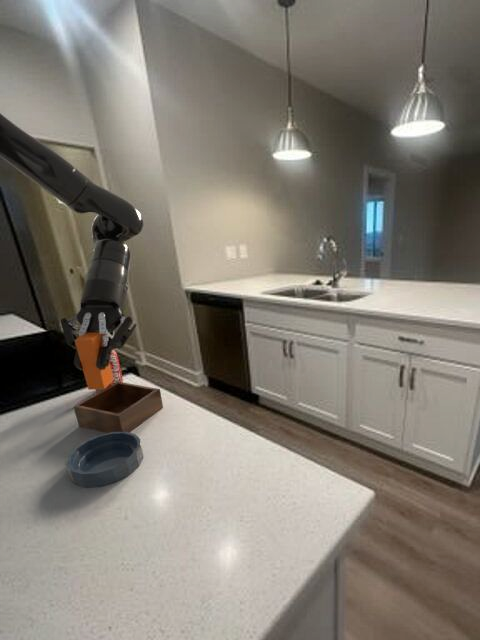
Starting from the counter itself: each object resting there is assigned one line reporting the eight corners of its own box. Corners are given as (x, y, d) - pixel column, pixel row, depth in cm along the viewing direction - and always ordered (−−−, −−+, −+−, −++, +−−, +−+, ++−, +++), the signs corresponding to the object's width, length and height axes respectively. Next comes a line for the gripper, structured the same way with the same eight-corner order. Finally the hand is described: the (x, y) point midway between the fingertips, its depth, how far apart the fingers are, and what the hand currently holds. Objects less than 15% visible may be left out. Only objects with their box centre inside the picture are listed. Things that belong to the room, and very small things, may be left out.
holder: (79, 427, 77) (72, 406, 75) (122, 400, 88) (117, 381, 86) (124, 438, 73) (118, 416, 71) (163, 409, 84) (159, 388, 82)
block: (98, 380, 68) (85, 332, 64) (114, 379, 69) (102, 332, 65) (88, 389, 65) (74, 340, 61) (104, 389, 65) (91, 339, 61)
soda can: (126, 382, 97) (117, 342, 93) (122, 393, 91) (113, 351, 86) (98, 386, 95) (87, 345, 91) (93, 398, 89) (81, 355, 84)
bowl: (55, 480, 62) (49, 464, 60) (109, 440, 72) (105, 427, 71) (108, 496, 58) (103, 480, 57) (157, 452, 69) (154, 438, 67)
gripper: (58, 277, 65) (37, 362, 59) (133, 276, 66) (120, 360, 60) (80, 298, 72) (63, 376, 66) (148, 297, 73) (137, 374, 67)
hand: (90, 368), depth 63 cm, fingers closed on block, 3 cm apart
